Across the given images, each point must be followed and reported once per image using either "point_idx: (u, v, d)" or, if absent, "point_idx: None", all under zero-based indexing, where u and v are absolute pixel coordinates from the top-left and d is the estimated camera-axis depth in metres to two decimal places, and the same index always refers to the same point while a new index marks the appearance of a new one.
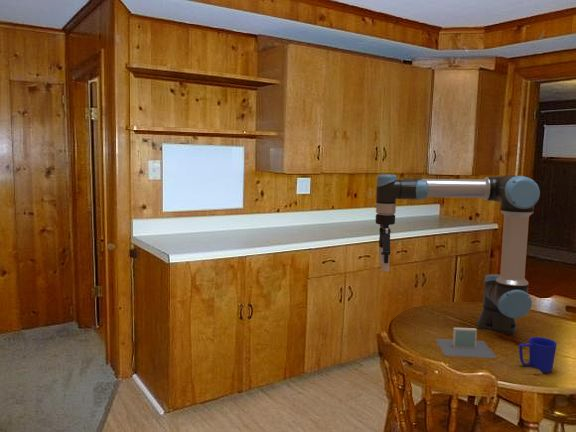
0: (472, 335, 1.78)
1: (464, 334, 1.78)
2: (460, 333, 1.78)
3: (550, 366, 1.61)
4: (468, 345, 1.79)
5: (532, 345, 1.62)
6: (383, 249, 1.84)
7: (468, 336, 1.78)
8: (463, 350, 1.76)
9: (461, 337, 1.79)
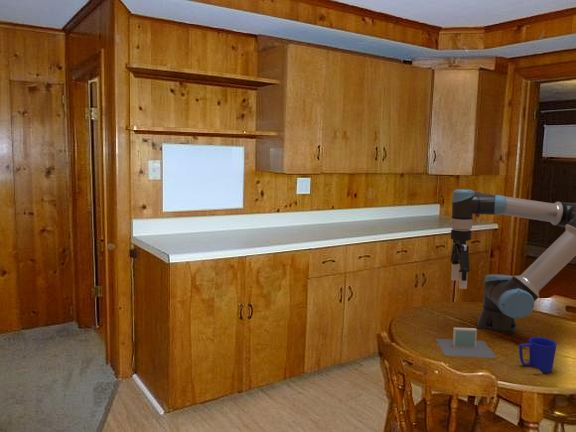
0: (472, 335, 1.78)
1: (464, 334, 1.78)
2: (460, 333, 1.78)
3: (550, 366, 1.61)
4: (468, 345, 1.79)
5: (532, 345, 1.62)
6: (461, 266, 1.81)
7: (468, 336, 1.78)
8: (463, 350, 1.76)
9: (461, 337, 1.79)
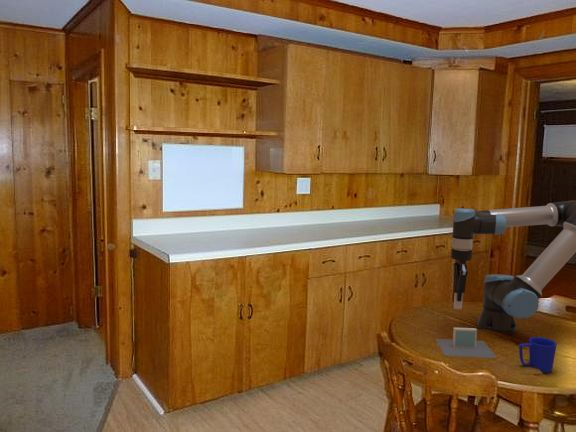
0: (472, 335, 1.78)
1: (464, 334, 1.78)
2: (460, 333, 1.78)
3: (550, 366, 1.61)
4: (468, 345, 1.79)
5: (532, 345, 1.62)
6: (457, 288, 1.86)
7: (468, 336, 1.78)
8: (463, 350, 1.76)
9: (461, 337, 1.79)
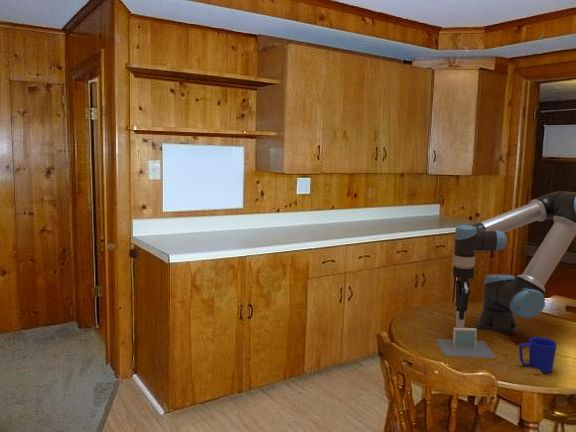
0: (472, 335, 1.78)
1: (464, 334, 1.78)
2: (460, 333, 1.78)
3: (550, 366, 1.61)
4: (468, 345, 1.79)
5: (532, 345, 1.62)
6: (459, 306, 1.83)
7: (468, 336, 1.78)
8: (463, 350, 1.76)
9: (461, 337, 1.79)
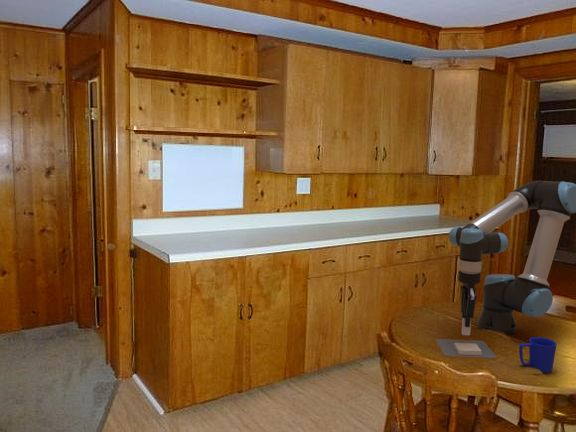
0: None
1: None
2: None
3: (550, 366, 1.61)
4: None
5: (532, 345, 1.62)
6: (465, 313, 1.74)
7: None
8: None
9: None
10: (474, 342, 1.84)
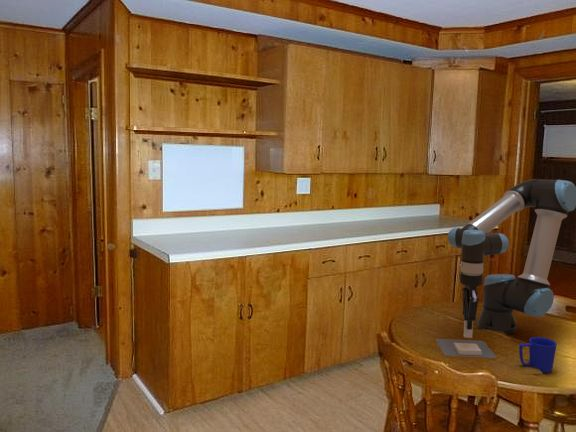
0: None
1: None
2: None
3: (550, 366, 1.61)
4: None
5: (532, 345, 1.62)
6: (467, 316, 1.73)
7: None
8: None
9: None
10: (474, 342, 1.84)
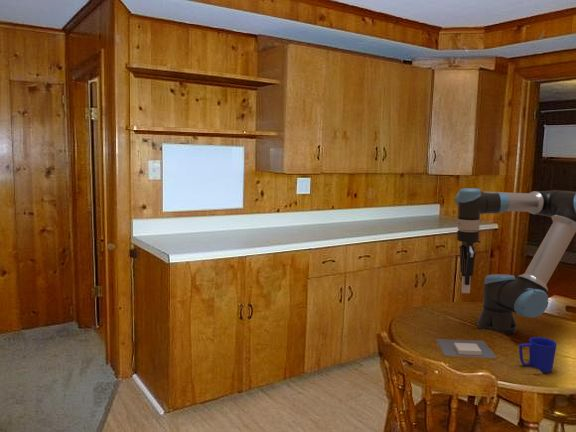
0: None
1: None
2: None
3: (550, 366, 1.61)
4: None
5: (532, 345, 1.62)
6: (464, 271, 1.78)
7: None
8: None
9: None
10: (474, 342, 1.84)
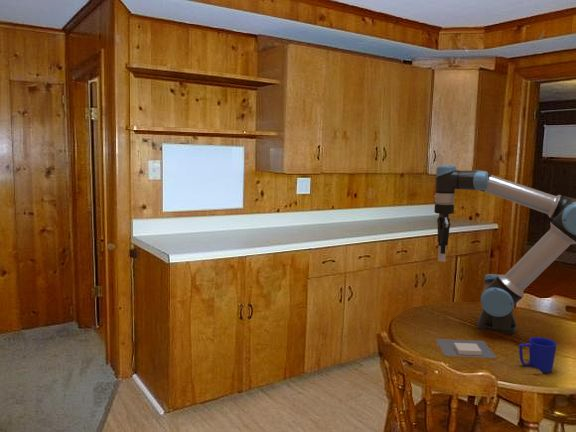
0: None
1: None
2: None
3: (550, 366, 1.61)
4: None
5: (532, 345, 1.62)
6: (440, 241, 1.95)
7: None
8: None
9: None
10: (474, 342, 1.84)
